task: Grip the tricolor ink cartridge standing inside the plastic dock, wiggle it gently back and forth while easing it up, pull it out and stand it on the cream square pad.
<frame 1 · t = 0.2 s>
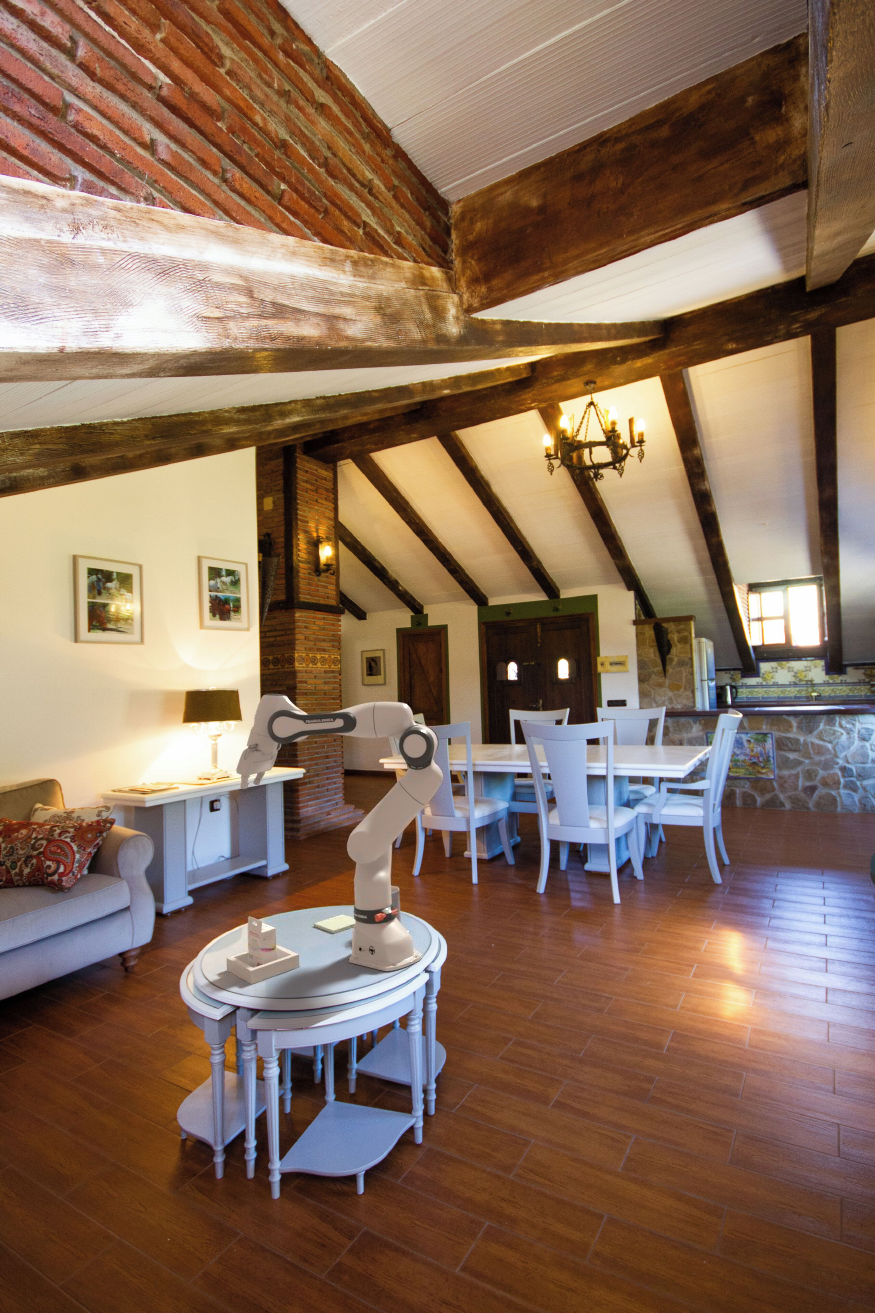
hand: (250, 786, 203), 51 cm above the table, tool tilted 20°, fingers open, 8 cm apart
pillar candle: (386, 932, 213), on the table
cartridge dock: (263, 968, 188), on the table
ink cartridge box: (263, 969, 188), resting in cartridge dock
cream square pad: (338, 925, 223), on the table
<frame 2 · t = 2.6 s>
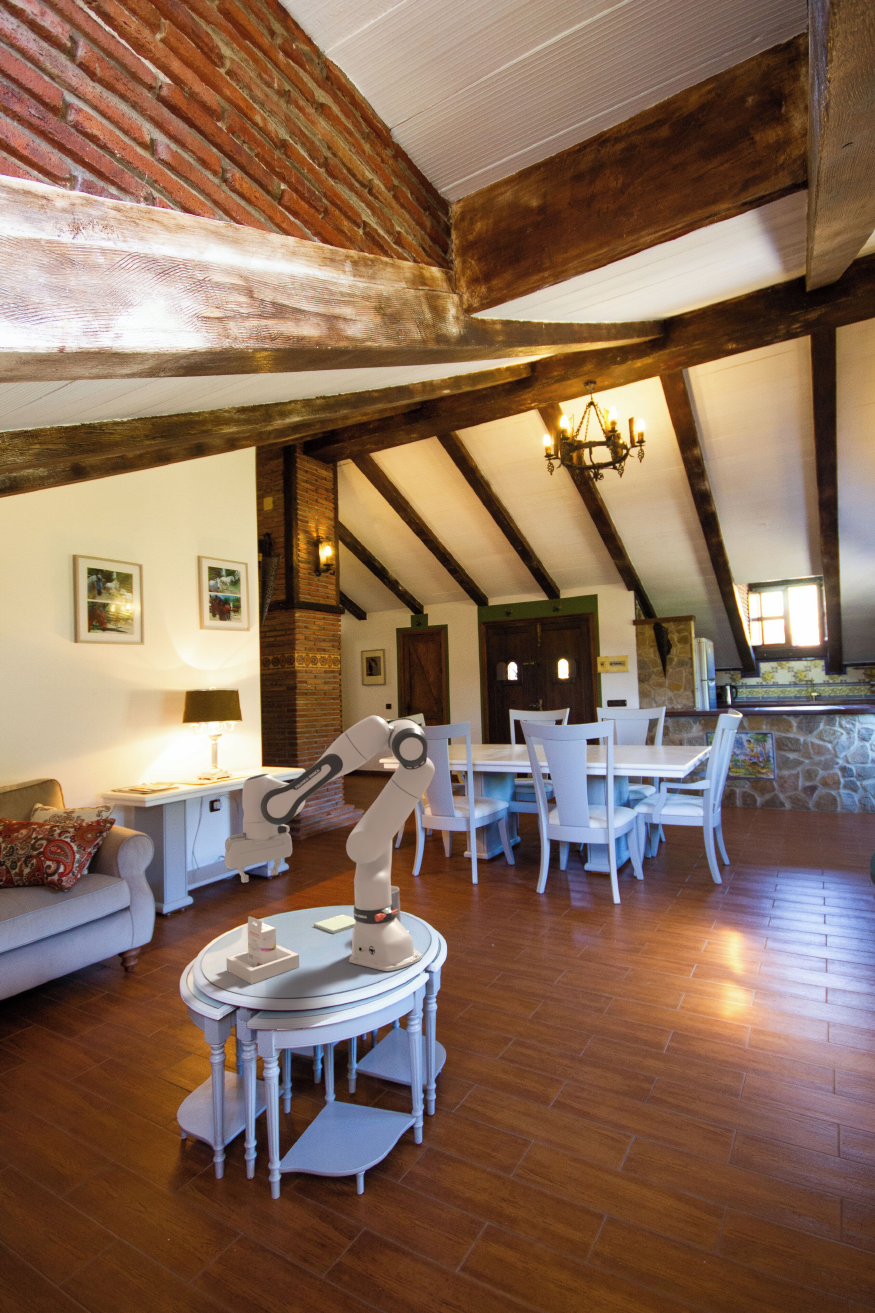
hand: (259, 878, 190), 26 cm above the table, tool pointing down, fingers open, 8 cm apart
nothing on the table moved.
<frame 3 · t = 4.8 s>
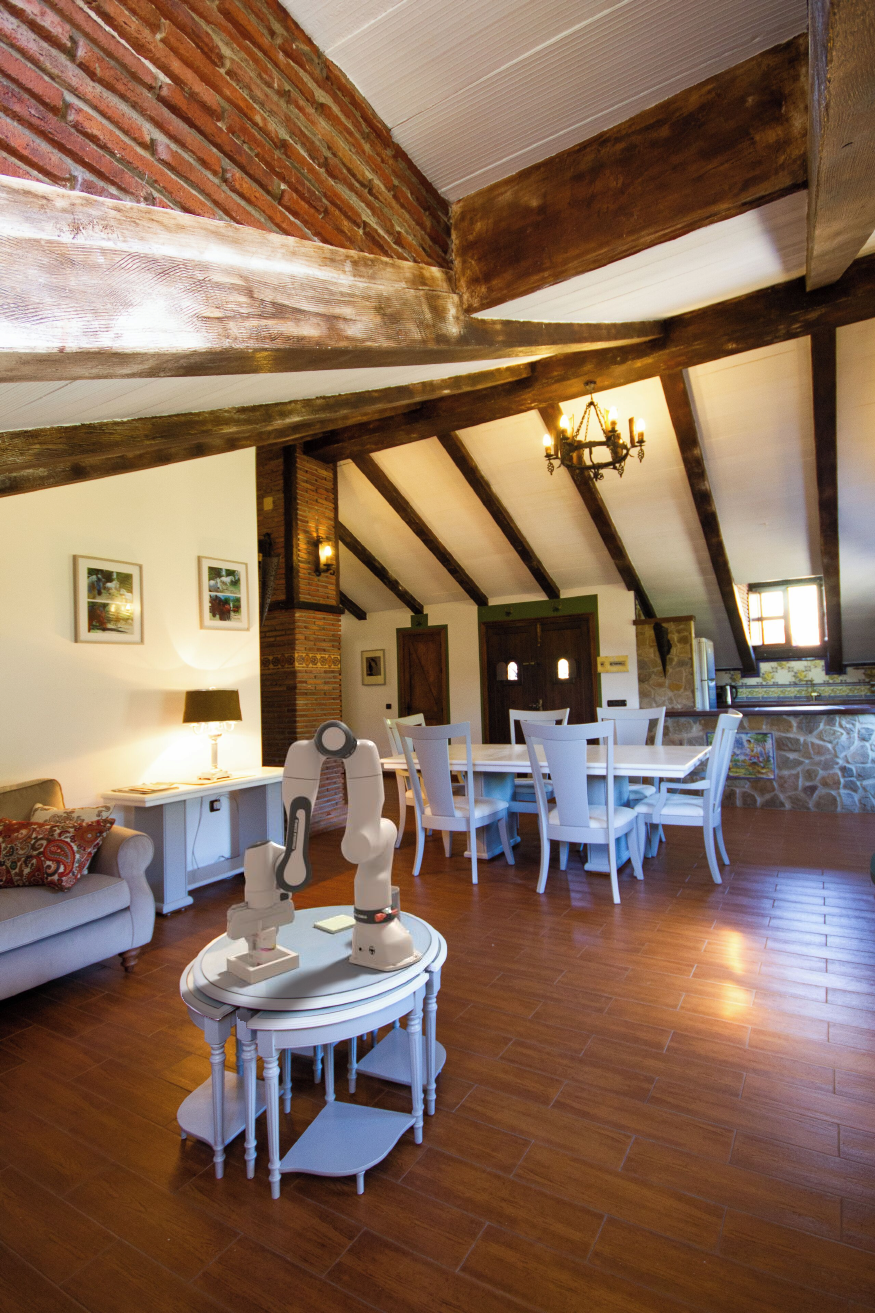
hand: (262, 947, 189), 6 cm above the table, tool pointing down, fingers closed on ink cartridge box, 5 cm apart
ink cartridge box: (263, 969, 188), resting in cartridge dock, touching gripper
everything else where it was.
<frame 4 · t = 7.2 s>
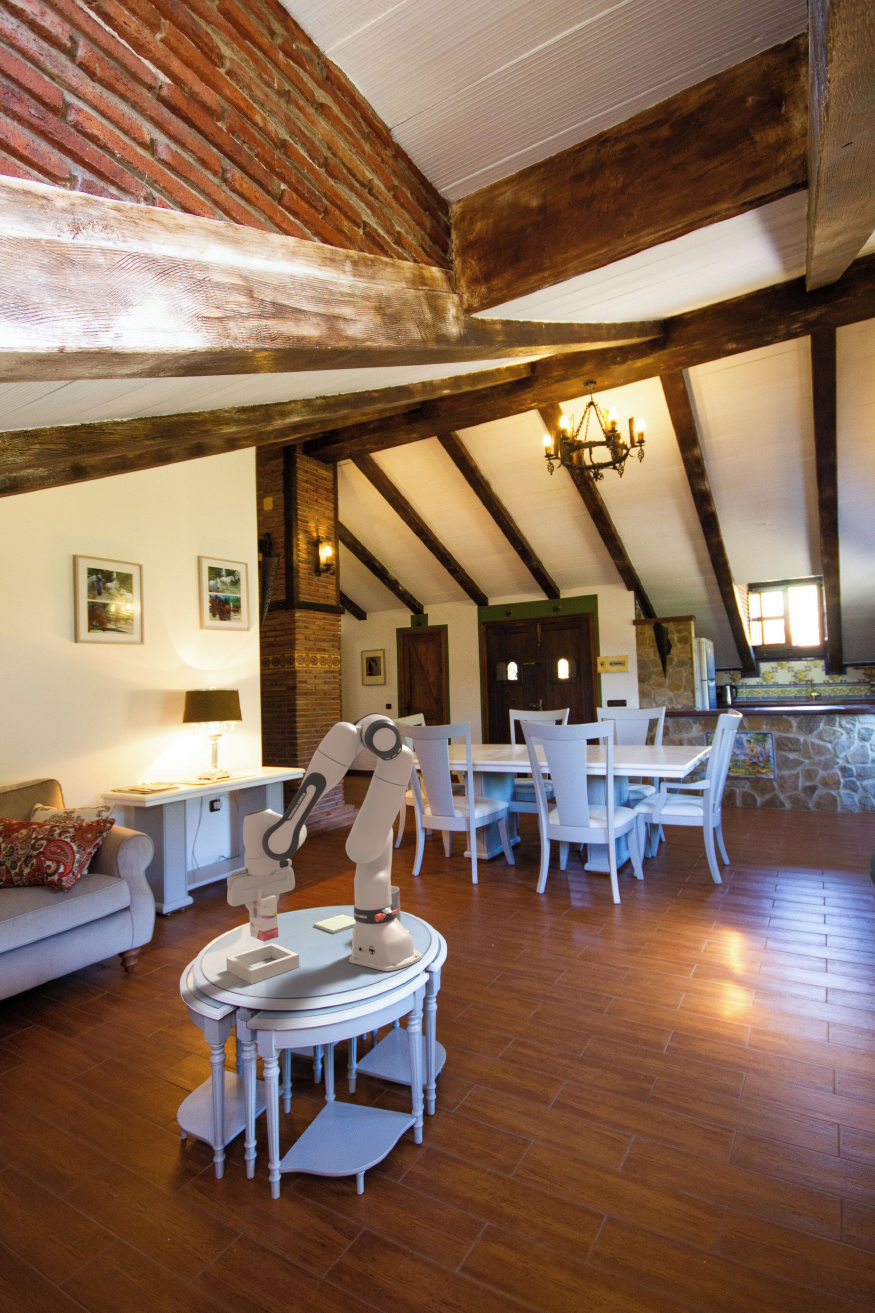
hand: (263, 913, 189), 15 cm above the table, tool pointing down, fingers closed on ink cartridge box, 5 cm apart
ink cartridge box: (264, 937, 189), point 9 cm above the table, touching gripper
everything else where it was.
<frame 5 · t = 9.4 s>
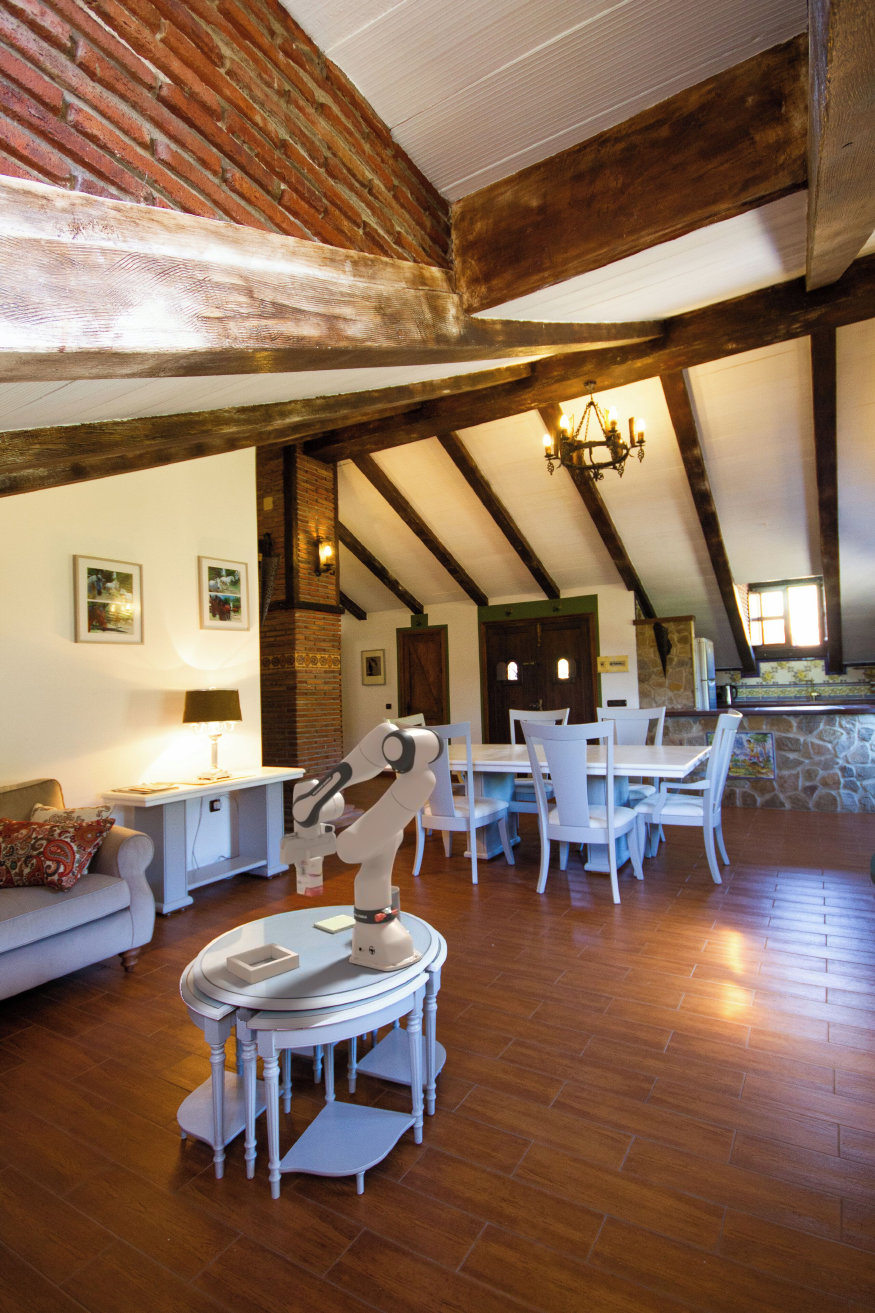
hand: (309, 873, 211), 21 cm above the table, tool pointing down, fingers closed on ink cartridge box, 5 cm apart
ink cartridge box: (310, 894, 211), point 14 cm above the table, touching gripper
everything else where it was.
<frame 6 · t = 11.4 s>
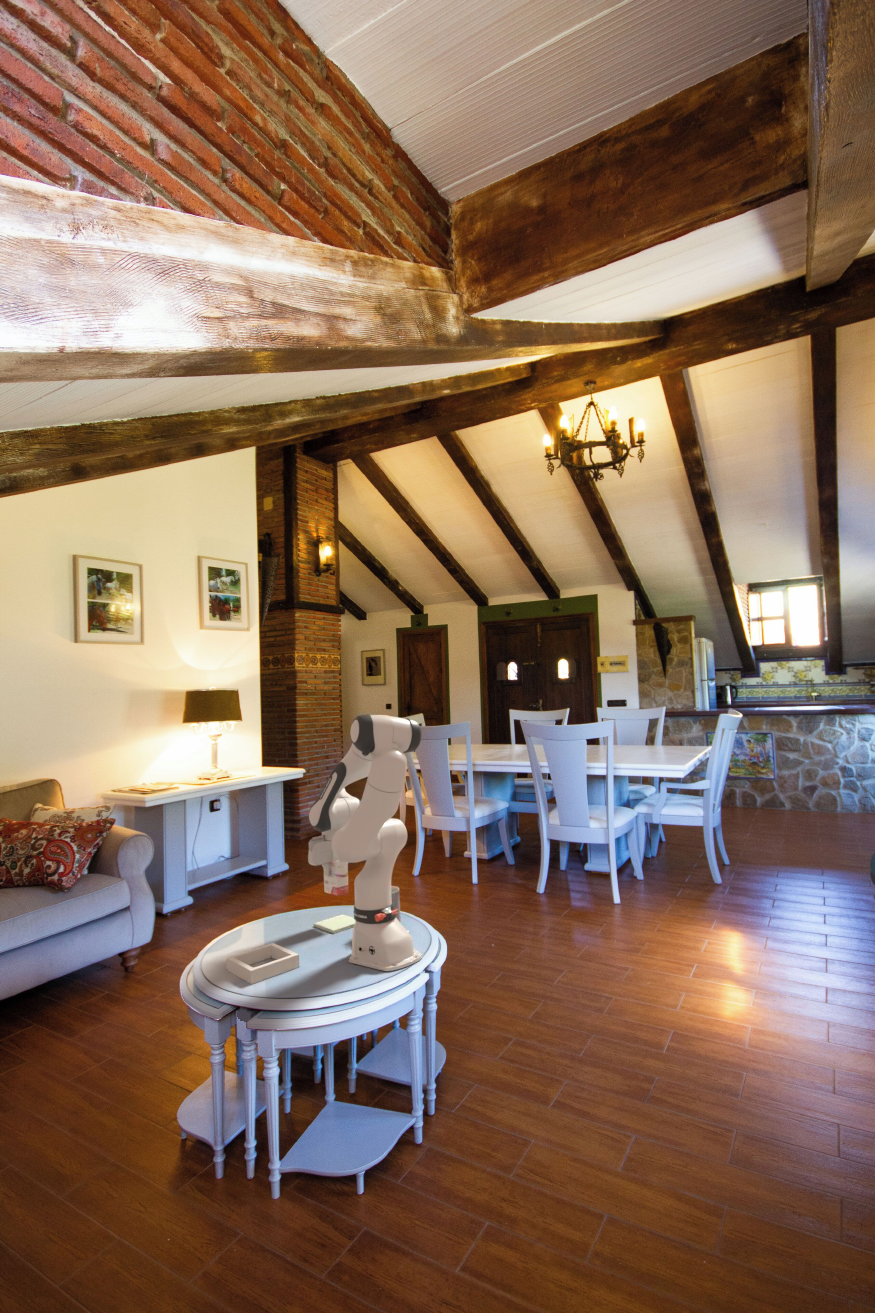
hand: (336, 873, 224), 17 cm above the table, tool pointing down, fingers closed on ink cartridge box, 5 cm apart
ink cartridge box: (336, 893, 224), point 11 cm above the table, touching gripper
everything else where it was.
when the fingers open (9 cm above the table, at t = 13.3 s): ink cartridge box drops 1 cm, resting on cream square pad.
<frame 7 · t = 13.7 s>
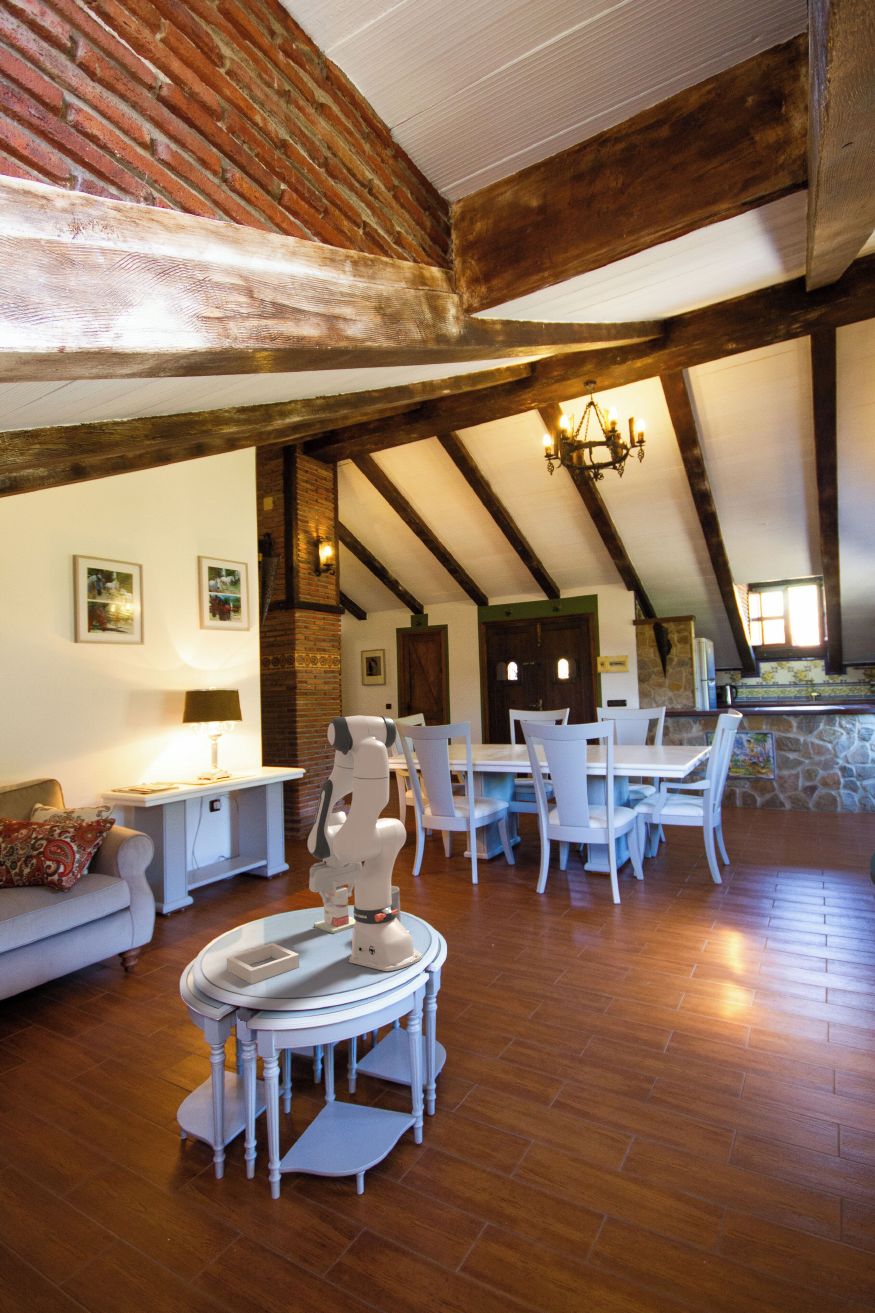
hand: (337, 899, 224), 9 cm above the table, tool pointing down, fingers open, 8 cm apart
ink cartridge box: (336, 923, 223), point 1 cm above the table, touching cream square pad
everything else where it was.
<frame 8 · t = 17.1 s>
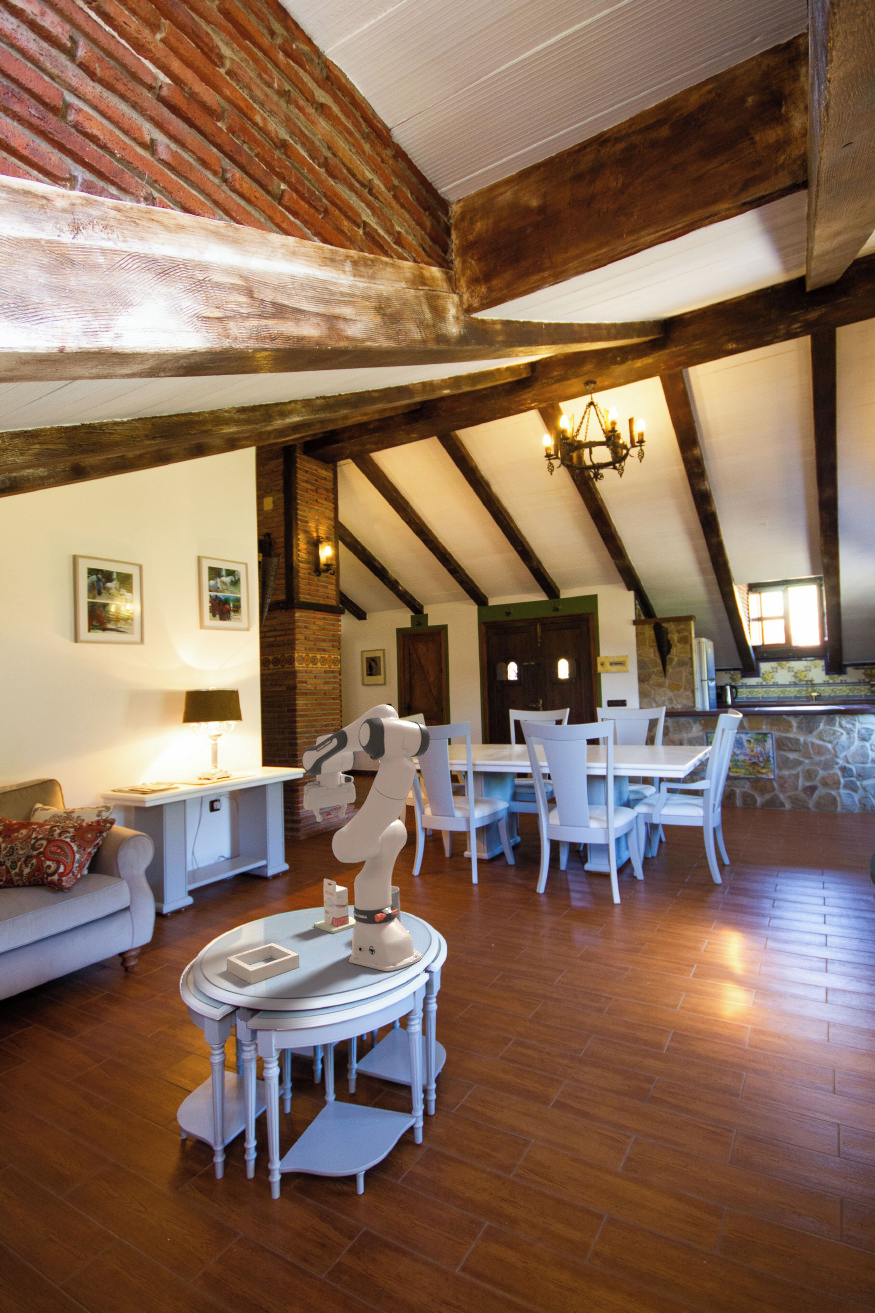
hand: (330, 819, 231), 35 cm above the table, tool pointing down, fingers open, 8 cm apart
nothing on the table moved.
at the end: ink cartridge box inside the target area on the cream square pad (0.6 cm from its centre), point 0.8 cm above the cream square pad's base; ink cartridge box tilted 0°; the gripper is holding nothing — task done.
